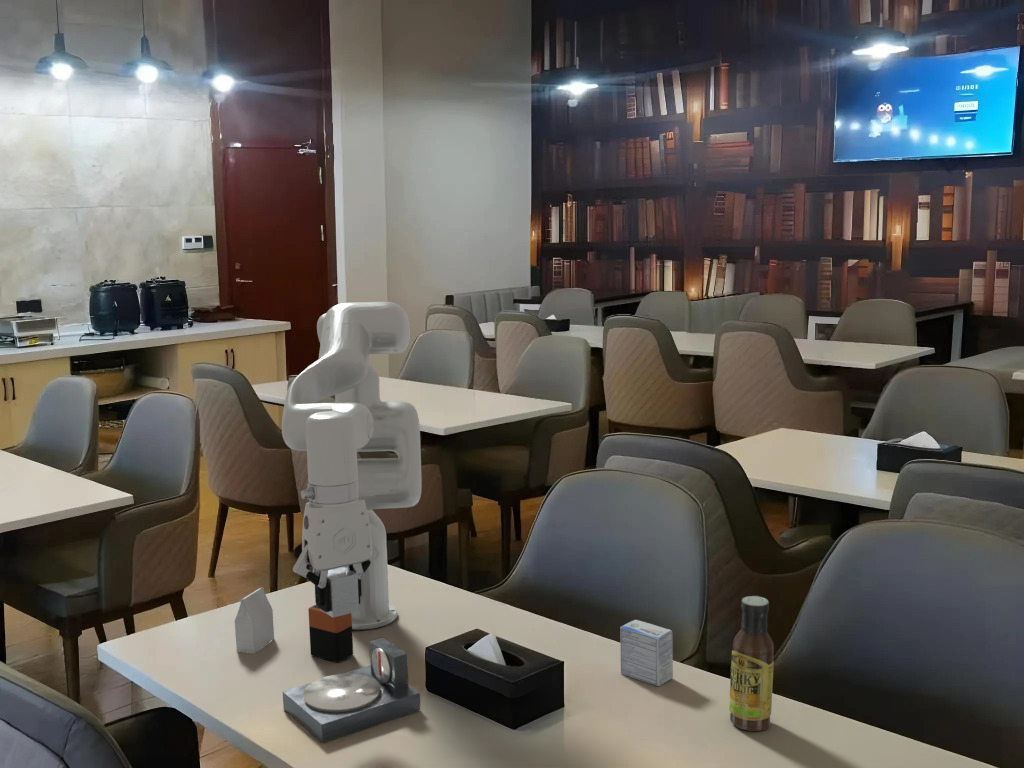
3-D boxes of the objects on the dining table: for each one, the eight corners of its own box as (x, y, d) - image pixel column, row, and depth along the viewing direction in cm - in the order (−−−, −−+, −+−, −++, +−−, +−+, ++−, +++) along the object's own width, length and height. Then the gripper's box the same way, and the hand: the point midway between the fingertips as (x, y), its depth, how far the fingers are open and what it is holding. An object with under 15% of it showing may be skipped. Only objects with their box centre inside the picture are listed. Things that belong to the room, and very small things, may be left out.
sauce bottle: (721, 723, 162) (722, 599, 159) (744, 710, 166) (747, 588, 163) (756, 738, 157) (759, 610, 154) (780, 724, 162) (783, 599, 158)
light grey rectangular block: (319, 609, 166) (318, 572, 165) (345, 602, 169) (344, 566, 168) (332, 617, 163) (331, 580, 162) (359, 610, 165) (357, 573, 164)
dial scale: (283, 709, 170) (280, 657, 168) (377, 680, 179) (375, 631, 178) (322, 743, 158) (319, 688, 157) (420, 710, 168) (418, 658, 167)
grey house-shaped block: (274, 639, 198) (271, 588, 196) (254, 653, 191) (251, 600, 190) (257, 637, 199) (253, 586, 197) (236, 651, 192) (233, 598, 191)
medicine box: (673, 679, 178) (673, 630, 176) (658, 688, 174) (658, 638, 173) (635, 666, 183) (635, 618, 182) (619, 674, 180) (619, 626, 178)
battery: (338, 664, 186) (335, 609, 184) (309, 656, 190) (306, 602, 188) (354, 655, 190) (352, 601, 188) (326, 647, 193) (323, 595, 192)
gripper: (293, 506, 155) (299, 625, 158) (394, 487, 165) (398, 600, 168) (272, 496, 161) (278, 611, 164) (370, 479, 171) (375, 587, 174)
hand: (339, 604), depth 166 cm, fingers closed on light grey rectangular block, 4 cm apart
